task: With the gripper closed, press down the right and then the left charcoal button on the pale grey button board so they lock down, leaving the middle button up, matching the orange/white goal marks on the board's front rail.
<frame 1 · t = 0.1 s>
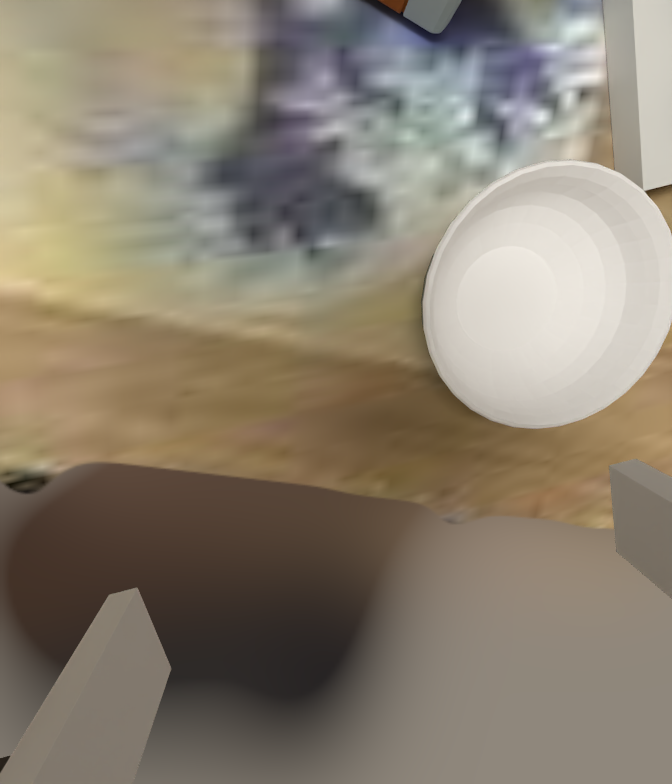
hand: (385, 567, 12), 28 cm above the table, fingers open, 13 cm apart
bowl: (501, 299, 39), on the table
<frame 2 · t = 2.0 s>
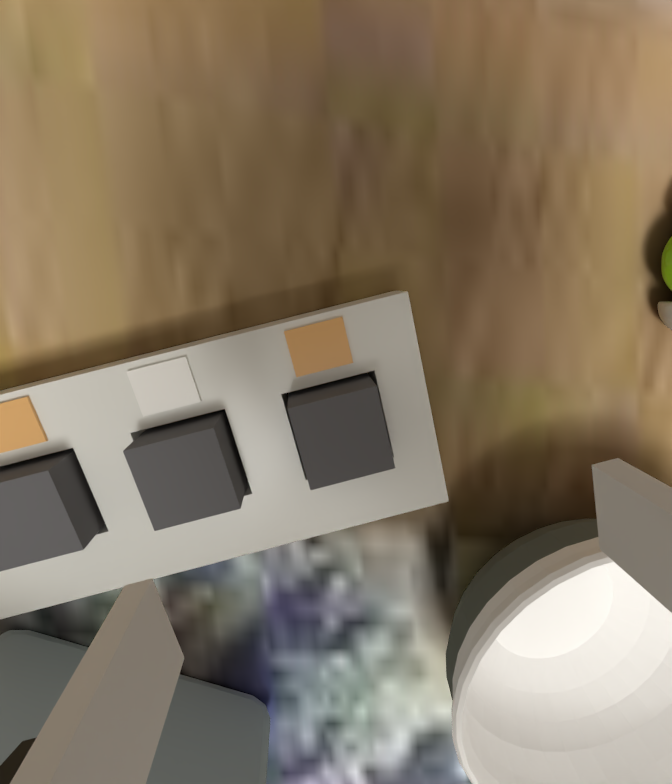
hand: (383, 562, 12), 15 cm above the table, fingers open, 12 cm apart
board: (204, 444, 26), on the table
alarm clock: (127, 705, 30), on the table
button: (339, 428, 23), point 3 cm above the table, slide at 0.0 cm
button middle: (191, 467, 23), point 3 cm above the table, slide at 0.0 cm
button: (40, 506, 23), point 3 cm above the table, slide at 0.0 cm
bowl: (542, 593, 31), on the table
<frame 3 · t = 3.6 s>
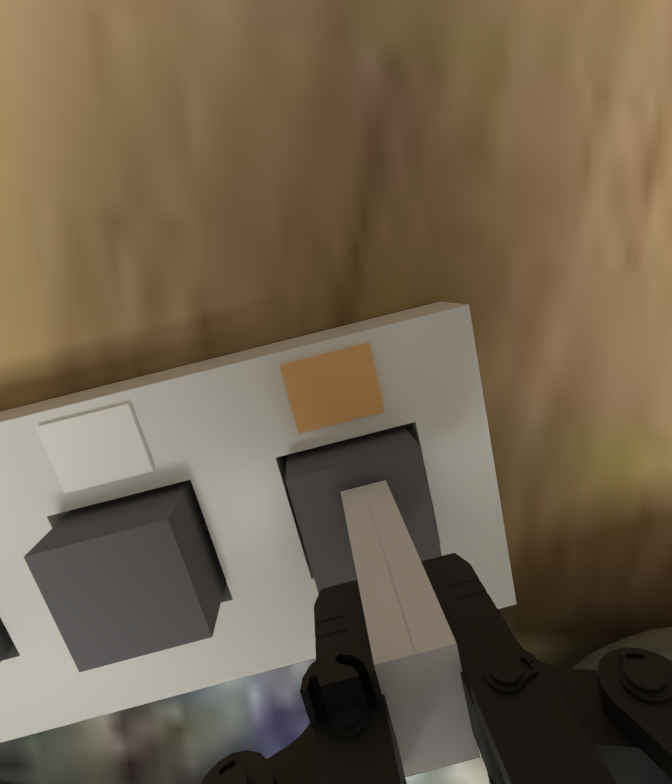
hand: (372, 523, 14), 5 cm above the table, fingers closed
board: (168, 516, 19), on the table
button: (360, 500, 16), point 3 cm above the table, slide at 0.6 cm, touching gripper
button middle: (140, 566, 15), point 3 cm above the table, slide at 0.0 cm
bowl: (621, 701, 23), on the table
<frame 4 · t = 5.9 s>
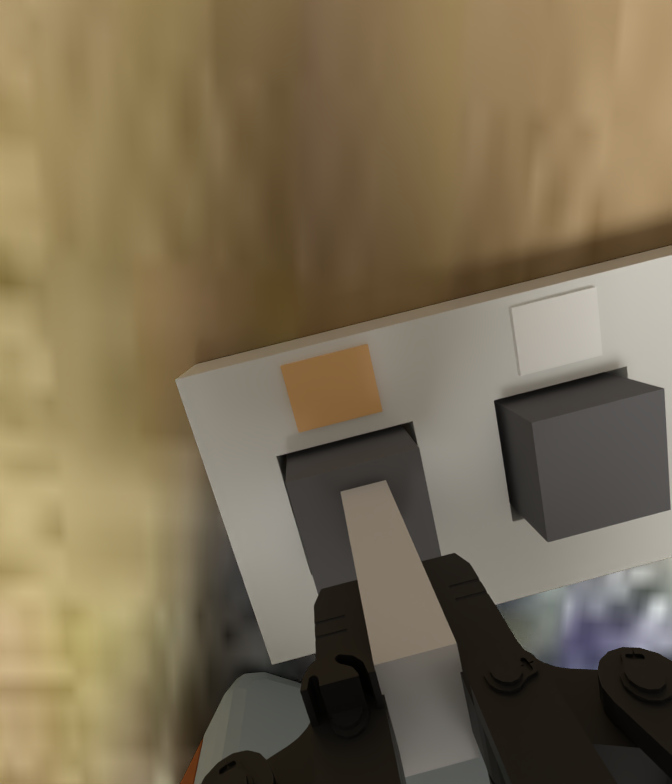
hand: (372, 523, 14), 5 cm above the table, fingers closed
board: (527, 422, 19), on the table
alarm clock: (367, 766, 23), on the table
button middle: (574, 450, 16), point 3 cm above the table, slide at 0.0 cm
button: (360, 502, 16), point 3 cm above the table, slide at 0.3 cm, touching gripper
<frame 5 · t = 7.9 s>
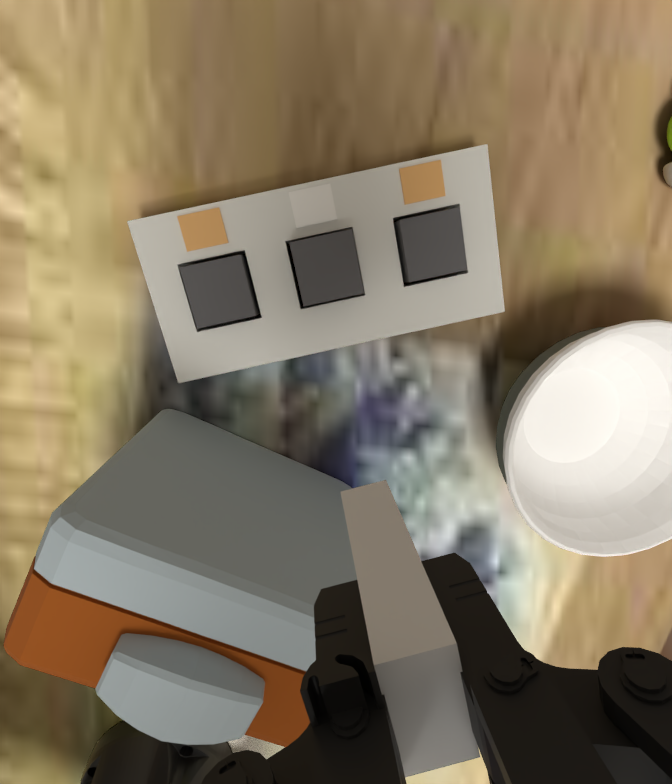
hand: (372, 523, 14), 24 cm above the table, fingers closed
board: (324, 269, 35), on the table
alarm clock: (245, 484, 40), on the table
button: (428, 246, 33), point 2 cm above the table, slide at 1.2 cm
button middle: (326, 268, 32), point 3 cm above the table, slide at 0.0 cm
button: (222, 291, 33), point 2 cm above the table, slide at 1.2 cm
bowl: (565, 413, 40), on the table
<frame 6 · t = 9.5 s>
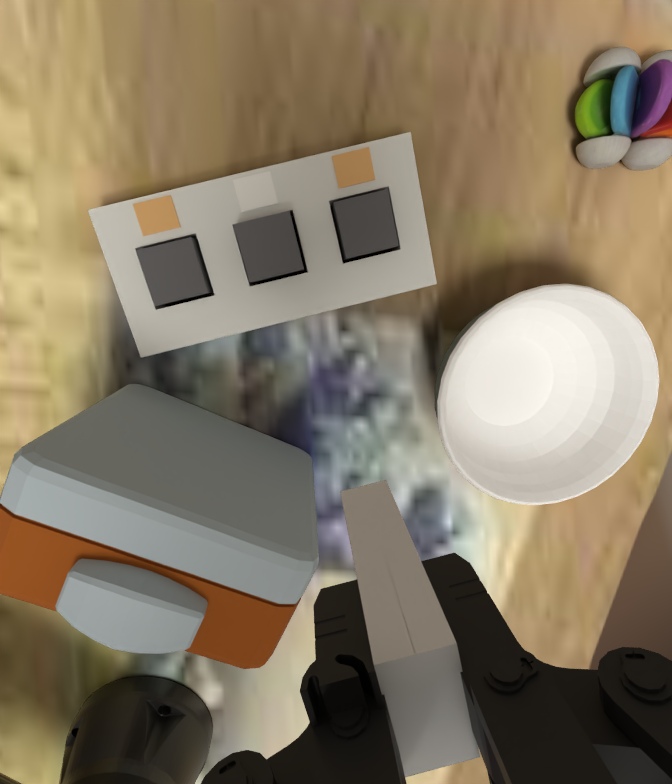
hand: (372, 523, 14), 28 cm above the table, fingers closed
board: (273, 251, 39), on the table
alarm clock: (210, 454, 43), on the table
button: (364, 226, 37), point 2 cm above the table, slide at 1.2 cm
button middle: (270, 248, 36), point 3 cm above the table, slide at 0.0 cm
rainbow disc toy: (612, 121, 39), on the table
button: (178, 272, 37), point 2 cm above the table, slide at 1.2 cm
bowl: (504, 380, 44), on the table
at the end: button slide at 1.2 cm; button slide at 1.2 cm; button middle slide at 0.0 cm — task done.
